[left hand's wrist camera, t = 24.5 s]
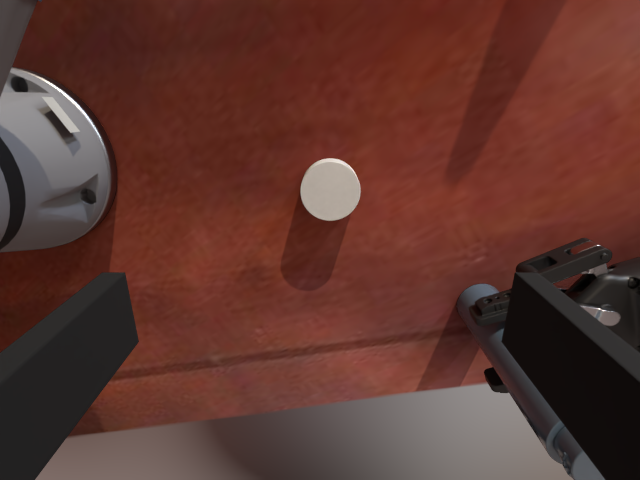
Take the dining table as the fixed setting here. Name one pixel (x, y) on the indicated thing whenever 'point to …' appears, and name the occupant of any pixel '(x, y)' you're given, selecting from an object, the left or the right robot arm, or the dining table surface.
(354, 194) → the lid
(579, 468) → the grey cylinder
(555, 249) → the right robot arm
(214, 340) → the dining table surface
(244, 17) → the dining table surface
